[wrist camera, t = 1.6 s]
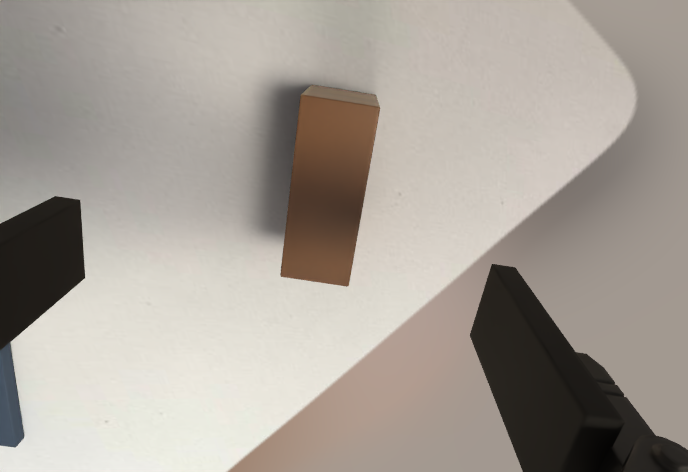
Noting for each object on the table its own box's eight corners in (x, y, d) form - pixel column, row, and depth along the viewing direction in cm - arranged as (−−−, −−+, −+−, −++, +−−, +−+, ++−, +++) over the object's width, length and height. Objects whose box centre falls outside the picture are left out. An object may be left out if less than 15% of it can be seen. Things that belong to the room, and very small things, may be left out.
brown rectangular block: (311, 84, 25) (300, 94, 20) (376, 94, 25) (380, 106, 20) (293, 238, 28) (279, 276, 24) (350, 247, 28) (348, 287, 24)
